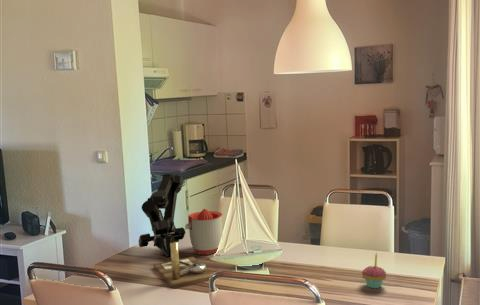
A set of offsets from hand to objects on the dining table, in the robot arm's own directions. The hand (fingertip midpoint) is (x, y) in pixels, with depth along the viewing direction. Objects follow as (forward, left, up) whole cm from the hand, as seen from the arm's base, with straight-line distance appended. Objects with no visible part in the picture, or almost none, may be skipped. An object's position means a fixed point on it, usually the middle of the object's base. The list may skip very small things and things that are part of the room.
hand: (167, 255), depth 194 cm
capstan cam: (+3, +4, -7) cm, 8 cm away
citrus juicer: (-11, +29, -9) cm, 32 cm away
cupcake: (+69, +39, -9) cm, 80 cm away
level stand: (+3, +6, -8) cm, 10 cm away
